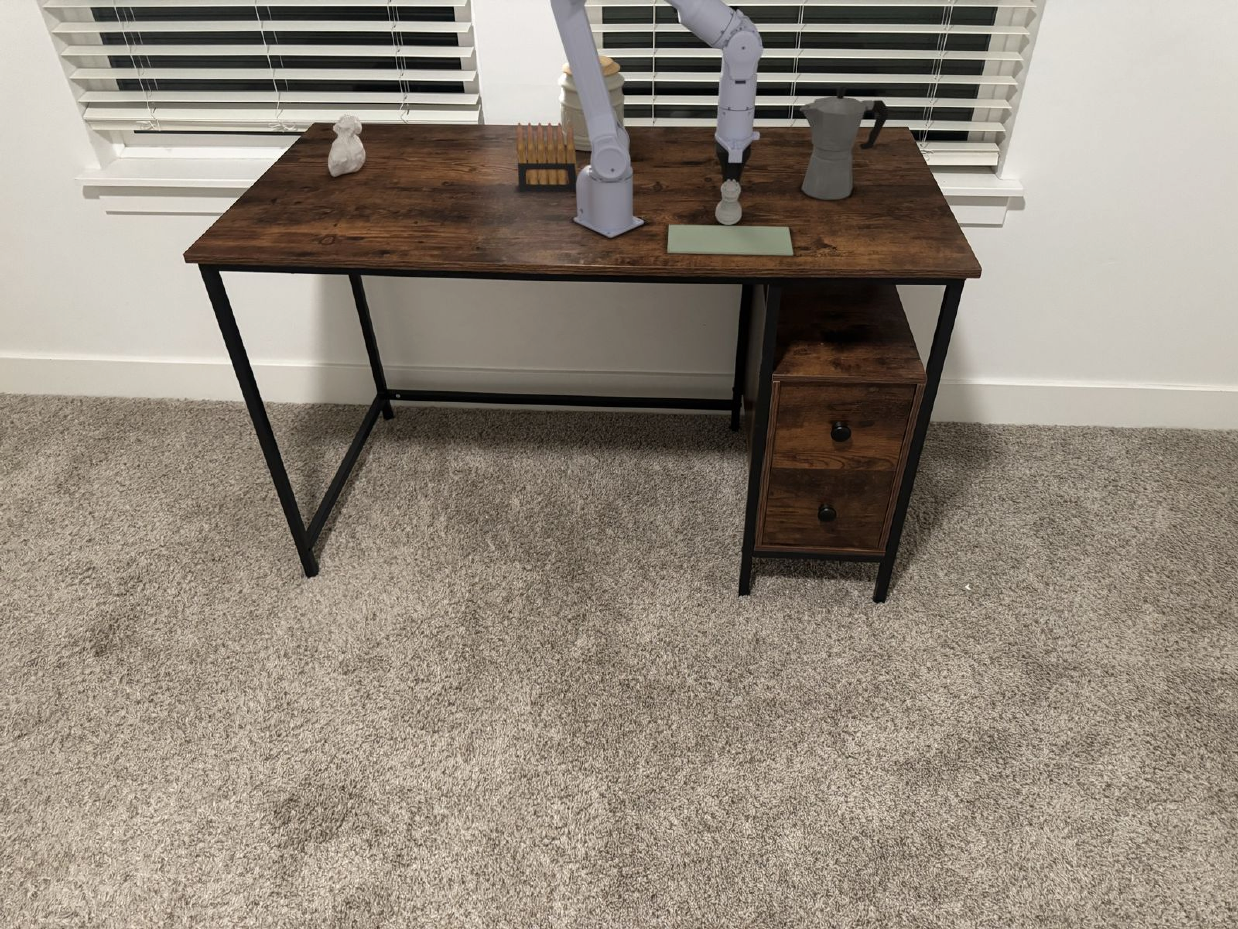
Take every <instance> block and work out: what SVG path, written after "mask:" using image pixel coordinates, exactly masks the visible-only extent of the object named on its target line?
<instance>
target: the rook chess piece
mask: <svg viewBox="0 0 1238 929" xmlns="http://www.w3.org/2000/svg"><path fill="white" fill-rule="evenodd" d="M720 192H721V198H722V199H721V201H719V202H718V203H717V205H716V208H715V213H714V214H715V218H716V220H717V221H718V222H719V223H721V224H723V225H724V226H732V225H734V224H736V223H737V222H739V221H740V220H741V218H742V206H741V204H740V202H739V200H738V199H739V198H740V194H741V192H742V187H741V185H740V182H739V183H738V182H736V180H734V179H733V181H730V179H729V180H727V182H724V184H723V183H722V185H721V186H720Z"/></svg>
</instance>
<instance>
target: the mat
mask: <svg viewBox="0 0 1238 929" xmlns="http://www.w3.org/2000/svg"><path fill="white" fill-rule="evenodd" d="M667 234H668V235H667V252H666V253H667V254H694V255H695V254H698V255H700V254H701V255H702V254H703V255H743V256H745V255H746V256H748V255H750V256H752V255H753V256H794V248H793V243H792V239H791V233H790V228H789V226H765V225H763V226H761V225H760V226H759V225H756V226H755V225H709V224H708V225H707V224H706V225H705V224H704V225H703V224H668V233H667Z"/></svg>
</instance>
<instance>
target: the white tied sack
mask: <svg viewBox="0 0 1238 929" xmlns="http://www.w3.org/2000/svg"><path fill="white" fill-rule="evenodd" d="M362 125H363V124H362V122H361V121H360V119H359V118H358V116H355V115H350V114H346V113H345V114H344V115H343V116H340V117H339V120H337V122H336V123H335V124H334V125H333V126H332V131H334V133H335V134H336V135H337V138H335V139H334V141H333V142H332V144H331V148H330V151H329V154H328V158H327V167H328V170H329V172H330V175H331V176H332V177H333V178H336V177H339V176H341V175H345V174H346V175H347V174H350V173H351V174H352V173H358V171H360V170H361V168H362V167H363V166H364V163H365V162H366V150H365V147H364V144H363V143H362V141H361V138H360V137H359V135H360V134H361V133H362V131H363V126H362Z"/></svg>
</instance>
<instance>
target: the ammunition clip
mask: <svg viewBox="0 0 1238 929" xmlns="http://www.w3.org/2000/svg"><path fill="white" fill-rule="evenodd" d="M526 127H527V128H526V143H525V136H524V130H523V127H522V124H521V122H518V123H517V127H516V154H517V155H516V156H517V174H518V175H517V176H518V191H519V192H576V182H577V178H578V173H577V172H578V171H577V160H576V159H577V156H576V149H575V145H574V139H573V130H572V126H571V124H570V123H568V126H567V144H566V145H565V144H564V136H563V130H562V126H561V122H558V124H557V128H556V143H555V135H554V130H553V125H552V124H551V122H548V124H547V128H546V143H545V135H544V134H545V133H544V128H543V125H542V124H541V122H538V124H537V129H536V141H535V136H534V130H533V126H532V123H531V122H528V124H527V126H526ZM535 142H536V144H535Z"/></svg>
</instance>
